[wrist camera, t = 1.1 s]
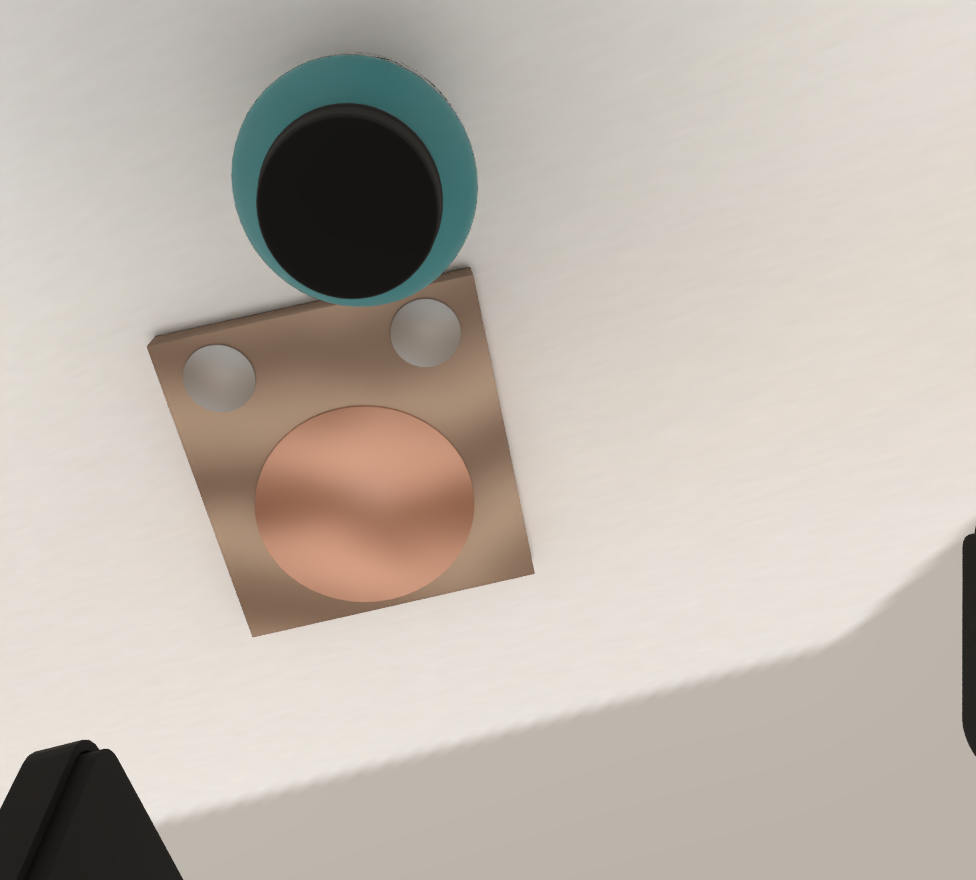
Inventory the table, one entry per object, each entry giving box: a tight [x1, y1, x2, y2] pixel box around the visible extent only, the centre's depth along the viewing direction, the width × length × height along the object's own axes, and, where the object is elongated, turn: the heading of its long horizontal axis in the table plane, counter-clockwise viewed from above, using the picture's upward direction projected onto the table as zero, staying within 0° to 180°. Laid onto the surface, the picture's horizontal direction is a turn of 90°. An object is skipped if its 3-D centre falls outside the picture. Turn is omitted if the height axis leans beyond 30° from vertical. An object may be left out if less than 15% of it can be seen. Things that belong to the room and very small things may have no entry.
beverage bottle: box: [231, 52, 478, 307], centre depth 28 cm, size 6×7×20 cm
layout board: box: [147, 268, 535, 637], centre depth 42 cm, size 15×14×2 cm
